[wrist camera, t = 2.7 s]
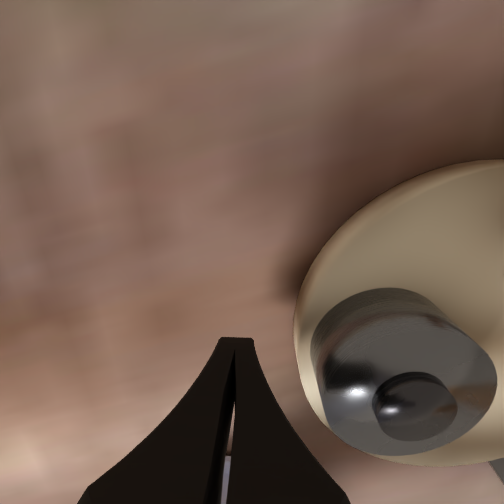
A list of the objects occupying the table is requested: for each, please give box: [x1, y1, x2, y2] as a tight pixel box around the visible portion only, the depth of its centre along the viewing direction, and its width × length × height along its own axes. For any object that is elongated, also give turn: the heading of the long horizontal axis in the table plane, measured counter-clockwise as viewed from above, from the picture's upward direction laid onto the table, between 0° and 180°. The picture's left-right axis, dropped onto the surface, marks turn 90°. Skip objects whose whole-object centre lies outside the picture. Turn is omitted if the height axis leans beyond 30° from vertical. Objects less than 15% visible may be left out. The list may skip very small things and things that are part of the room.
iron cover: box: [310, 288, 497, 456], centre depth 11 cm, size 6×6×3 cm
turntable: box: [293, 159, 504, 467], centre depth 12 cm, size 16×16×6 cm
